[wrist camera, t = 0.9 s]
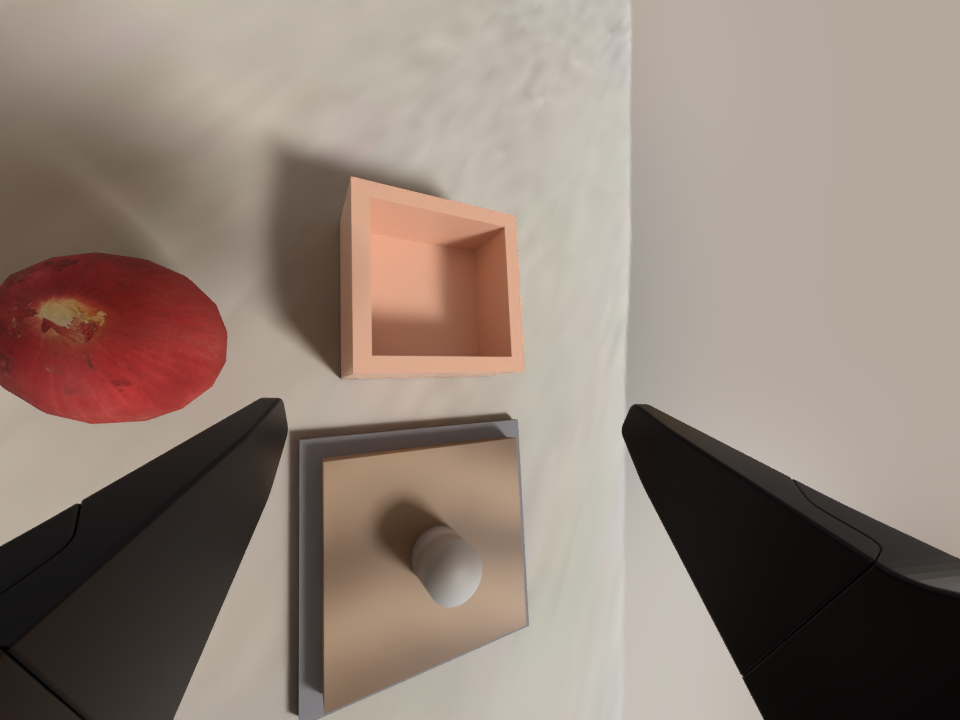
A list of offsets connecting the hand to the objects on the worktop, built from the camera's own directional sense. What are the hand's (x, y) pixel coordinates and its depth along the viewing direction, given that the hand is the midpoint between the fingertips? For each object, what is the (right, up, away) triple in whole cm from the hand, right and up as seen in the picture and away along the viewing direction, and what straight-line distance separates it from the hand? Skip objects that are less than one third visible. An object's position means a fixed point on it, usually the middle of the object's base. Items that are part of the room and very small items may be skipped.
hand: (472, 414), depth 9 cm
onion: (-14, +2, +7) cm, 16 cm away
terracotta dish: (-4, +5, +12) cm, 14 cm away
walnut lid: (-3, -9, +11) cm, 14 cm away
